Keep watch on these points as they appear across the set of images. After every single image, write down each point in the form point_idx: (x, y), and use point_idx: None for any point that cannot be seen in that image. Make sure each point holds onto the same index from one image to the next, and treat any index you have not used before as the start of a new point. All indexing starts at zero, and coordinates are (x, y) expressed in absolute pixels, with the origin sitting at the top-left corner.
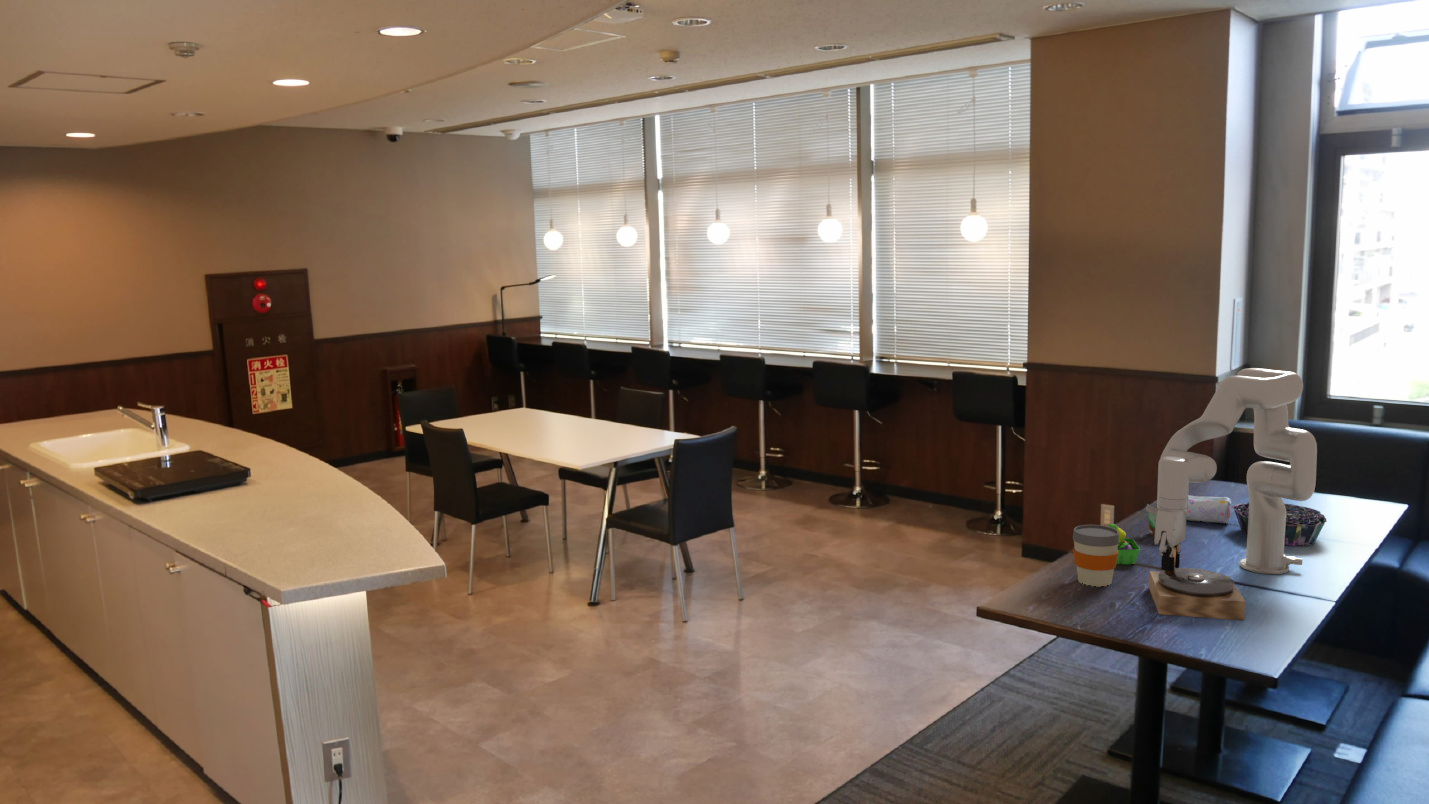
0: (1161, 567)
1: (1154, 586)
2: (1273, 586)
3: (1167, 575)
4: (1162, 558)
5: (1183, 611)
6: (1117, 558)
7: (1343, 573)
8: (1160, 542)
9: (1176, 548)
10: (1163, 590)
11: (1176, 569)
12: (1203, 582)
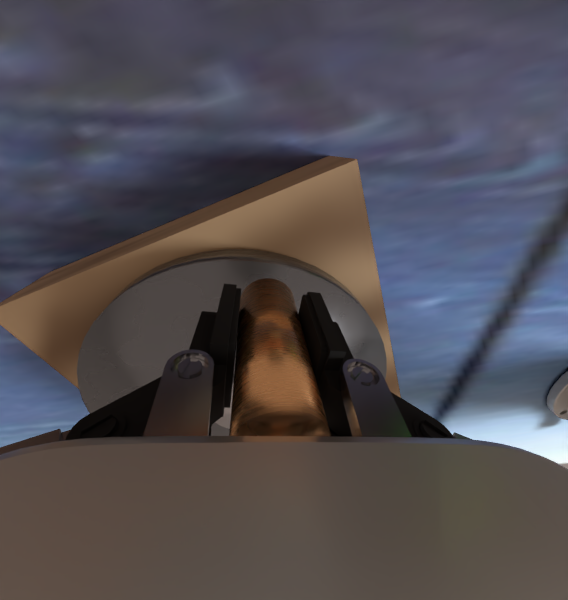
0: (224, 287)
1: (159, 237)
2: (462, 414)
3: (208, 306)
4: (213, 332)
5: None
6: None
7: (558, 459)
8: (243, 436)
9: (347, 435)
10: (79, 305)
11: (336, 314)
12: (214, 423)
